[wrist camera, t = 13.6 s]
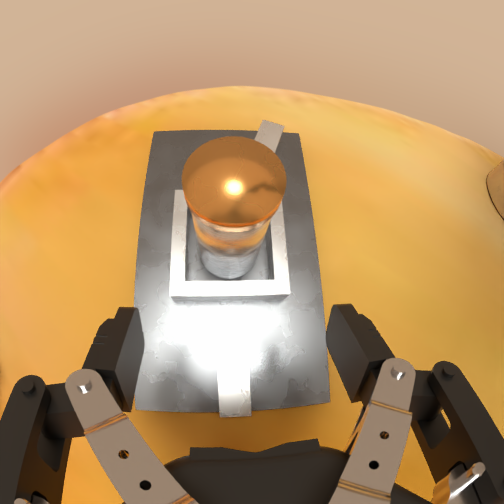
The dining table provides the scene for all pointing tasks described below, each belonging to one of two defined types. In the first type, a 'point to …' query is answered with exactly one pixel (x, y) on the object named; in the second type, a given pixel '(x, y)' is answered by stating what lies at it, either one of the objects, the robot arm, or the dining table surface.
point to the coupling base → (228, 296)
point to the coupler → (232, 201)
